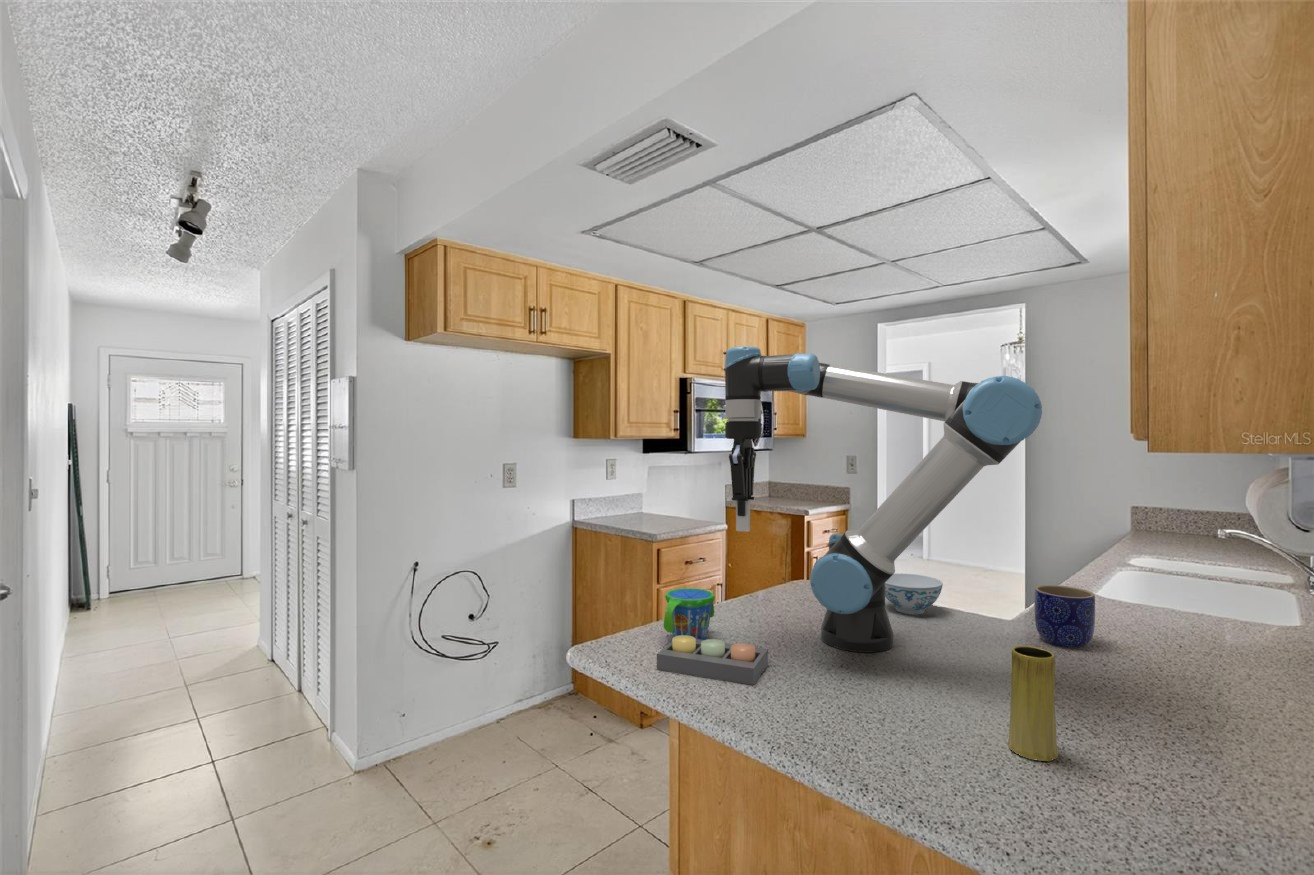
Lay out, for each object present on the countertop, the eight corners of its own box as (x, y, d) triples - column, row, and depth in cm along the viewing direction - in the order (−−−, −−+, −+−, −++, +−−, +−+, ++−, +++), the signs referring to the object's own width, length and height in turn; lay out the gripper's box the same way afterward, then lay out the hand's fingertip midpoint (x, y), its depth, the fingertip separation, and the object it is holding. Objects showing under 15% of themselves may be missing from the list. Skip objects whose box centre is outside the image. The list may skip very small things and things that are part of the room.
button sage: (727, 661, 123) (727, 641, 123) (720, 669, 118) (720, 648, 118) (705, 657, 125) (705, 637, 124) (697, 666, 120) (697, 645, 120)
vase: (1066, 754, 88) (1066, 653, 88) (1044, 767, 85) (1044, 662, 85) (1021, 736, 93) (1021, 641, 93) (999, 748, 90) (999, 649, 90)
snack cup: (696, 626, 147) (696, 583, 146) (731, 637, 139) (731, 591, 139) (647, 642, 136) (647, 595, 136) (682, 654, 128) (682, 605, 128)
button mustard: (698, 656, 125) (698, 637, 125) (690, 664, 121) (690, 644, 121) (677, 653, 127) (677, 634, 127) (668, 661, 123) (668, 641, 123)
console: (768, 664, 123) (768, 648, 123) (753, 685, 113) (753, 668, 113) (677, 650, 130) (677, 636, 130) (656, 669, 120) (656, 653, 120)
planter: (1101, 654, 127) (1101, 599, 127) (1039, 647, 131) (1039, 594, 131) (1087, 638, 138) (1087, 587, 137) (1030, 632, 142) (1030, 582, 141)
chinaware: (872, 601, 167) (872, 572, 167) (931, 603, 165) (931, 574, 165) (887, 618, 152) (887, 586, 152) (951, 620, 151) (951, 588, 150)
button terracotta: (757, 665, 120) (757, 645, 120) (751, 674, 116) (751, 652, 116) (734, 662, 122) (734, 641, 122) (727, 670, 118) (727, 649, 118)
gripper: (734, 420, 141) (734, 525, 141) (716, 420, 129) (716, 534, 129) (767, 420, 138) (767, 527, 138) (752, 419, 126) (752, 536, 126)
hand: (743, 530), depth 134 cm, fingers closed
